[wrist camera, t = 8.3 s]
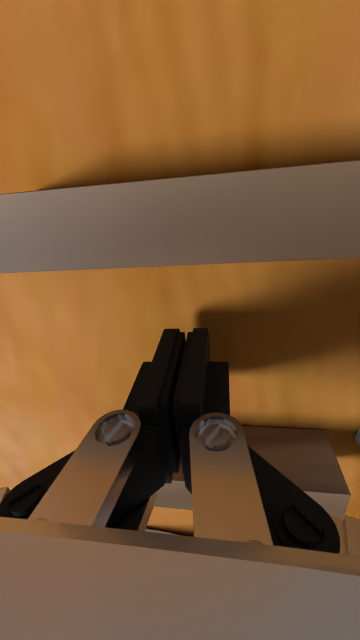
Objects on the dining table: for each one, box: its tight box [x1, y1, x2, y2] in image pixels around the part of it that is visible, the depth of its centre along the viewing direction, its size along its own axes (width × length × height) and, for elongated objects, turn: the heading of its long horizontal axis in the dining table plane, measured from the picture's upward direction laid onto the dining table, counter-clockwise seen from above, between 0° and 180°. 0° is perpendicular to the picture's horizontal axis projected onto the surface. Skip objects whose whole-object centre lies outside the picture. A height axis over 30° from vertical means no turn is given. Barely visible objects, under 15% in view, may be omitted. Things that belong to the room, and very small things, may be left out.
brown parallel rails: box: [0, 160, 360, 519], centre depth 11 cm, size 13×11×3 cm
